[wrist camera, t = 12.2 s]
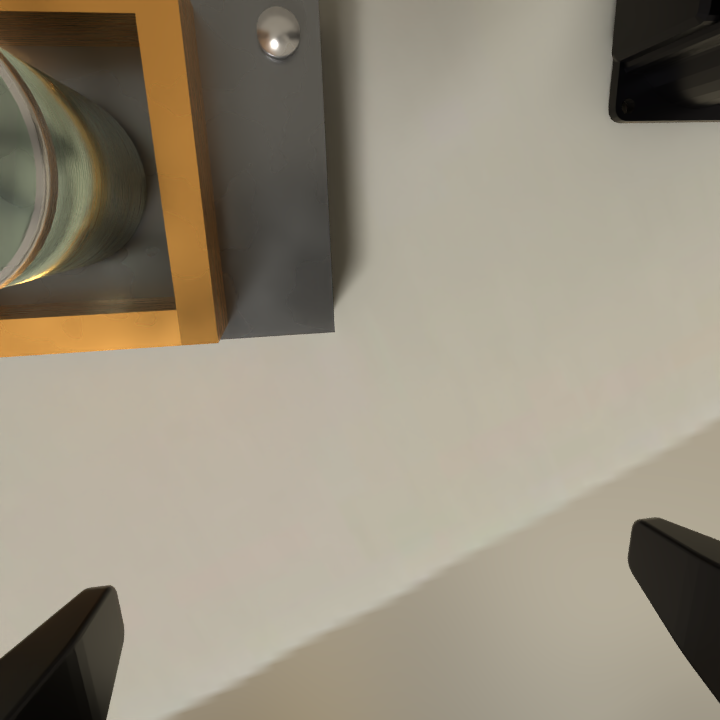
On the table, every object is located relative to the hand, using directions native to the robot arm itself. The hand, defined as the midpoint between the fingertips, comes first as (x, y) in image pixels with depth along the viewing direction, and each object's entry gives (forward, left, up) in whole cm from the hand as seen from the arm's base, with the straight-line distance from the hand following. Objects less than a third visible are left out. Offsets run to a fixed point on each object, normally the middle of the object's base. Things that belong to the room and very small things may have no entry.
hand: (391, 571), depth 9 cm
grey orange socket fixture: (+8, -7, -12) cm, 16 cm away
